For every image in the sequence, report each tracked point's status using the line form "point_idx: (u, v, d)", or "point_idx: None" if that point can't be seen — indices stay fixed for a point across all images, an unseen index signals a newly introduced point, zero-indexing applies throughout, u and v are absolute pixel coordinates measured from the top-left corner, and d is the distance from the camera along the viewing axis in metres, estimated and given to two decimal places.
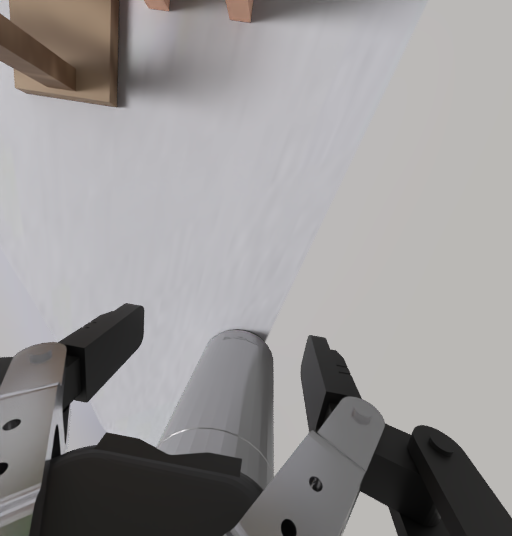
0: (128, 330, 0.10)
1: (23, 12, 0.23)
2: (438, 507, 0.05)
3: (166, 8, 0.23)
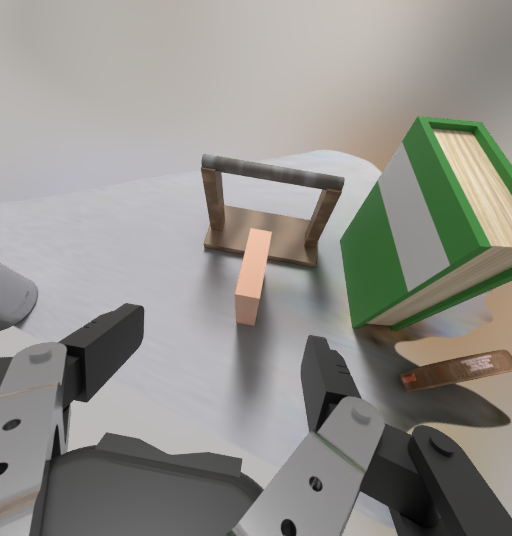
0: (128, 330, 0.10)
1: (247, 214, 0.48)
2: (438, 507, 0.05)
3: None
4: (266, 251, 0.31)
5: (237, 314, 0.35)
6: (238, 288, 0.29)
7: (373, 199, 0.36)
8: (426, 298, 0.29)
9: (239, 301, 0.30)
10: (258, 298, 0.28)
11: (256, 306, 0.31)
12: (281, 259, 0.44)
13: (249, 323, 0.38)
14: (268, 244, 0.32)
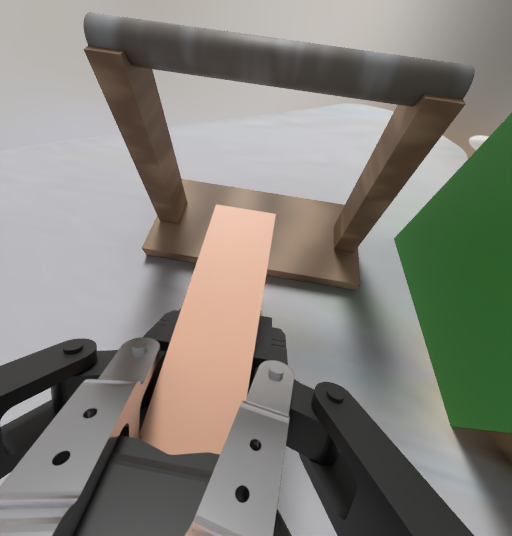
0: None
1: (227, 195, 0.27)
2: (340, 449, 0.06)
3: None
4: (260, 271, 0.10)
5: None
6: (152, 424, 0.07)
7: None
8: None
9: None
10: None
11: None
12: (292, 276, 0.23)
13: None
14: (266, 249, 0.11)
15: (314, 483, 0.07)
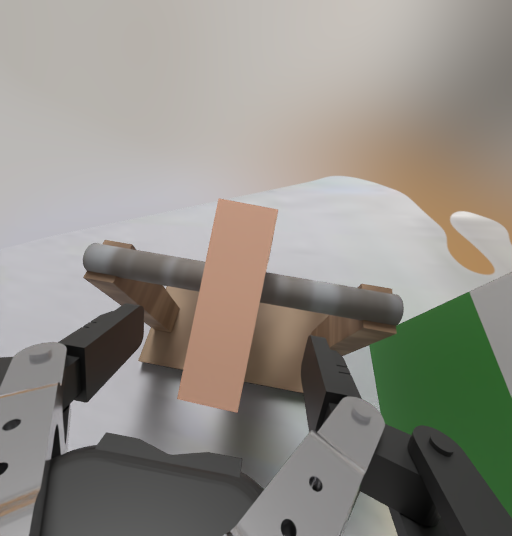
0: (128, 330, 0.10)
1: None
2: (438, 507, 0.05)
3: None
4: (259, 275, 0.12)
5: None
6: (186, 383, 0.12)
7: (455, 325, 0.17)
8: None
9: None
10: (234, 409, 0.12)
11: None
12: (271, 386, 0.26)
13: None
14: (266, 252, 0.12)
15: None
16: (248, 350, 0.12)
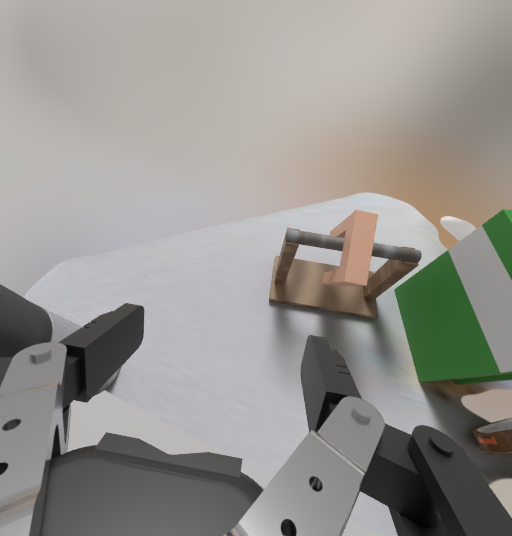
0: (128, 330, 0.10)
1: (305, 266, 0.50)
2: (438, 507, 0.05)
3: None
4: (372, 237, 0.33)
5: (329, 283, 0.40)
6: (347, 275, 0.32)
7: (442, 266, 0.38)
8: None
9: (342, 282, 0.34)
10: (365, 285, 0.32)
11: (356, 285, 0.35)
12: (343, 312, 0.47)
13: (334, 285, 0.43)
14: (374, 229, 0.33)
15: None
16: (369, 263, 0.32)
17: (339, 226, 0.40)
